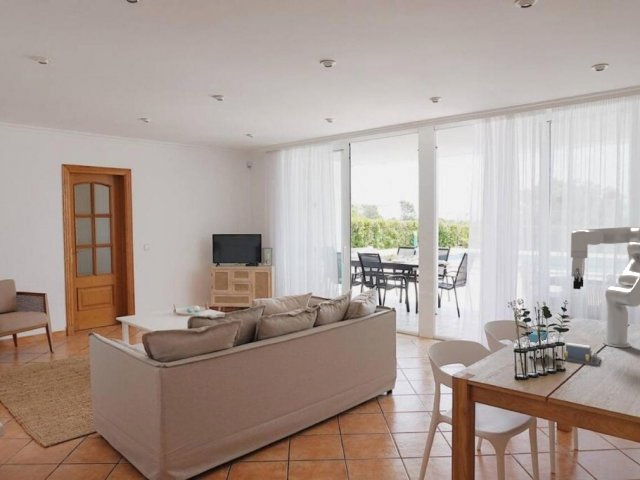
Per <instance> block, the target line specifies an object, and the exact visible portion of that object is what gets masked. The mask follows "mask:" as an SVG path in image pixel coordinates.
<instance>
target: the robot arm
mask: <svg viewBox="0 0 640 480" xmlns="http://www.w3.org/2000/svg"><path fill="white" fill-rule="evenodd" d="M570 235H571V237H570V258H572V259H571V260H572V261H571V274H570V275H571V276H570V277H572V278H573V282H572V284H573V285H572V287H573V290H581V289H582V288H581V287H584V276H585V271H586V270H585V269H586V268H585V265H586V262H585V261H586V259H588V247H589V245H591V246H598V245H600V244H604V245H615V244H627V247H626V251H627V254H628V263H627V265H626V266H625V268H624V269H623V271H621V274H620V275H619V277H618V280H617V283H618V285H619V286H618V285H611V286H609V287H608V288H607V289H606V290H605V301H606V335H605V337H606V338H605V339H603V340H602V344H604V345H606V346H609V347H613V348H623V349H624V348H630V347H631V343H630V342H628V328H629V327H628V322H629V312H628V311H629V310H628V309H627V307H632V308H636V307H639V306H640V226H622V227H621V226H620V227H618V226H617V227H605V228H591V229H590V228H589V229H587V228H586V229H578V230H573V231H572V232H571V234H570Z"/></svg>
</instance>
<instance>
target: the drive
mask: <svg viewBox="0 0 640 480" xmlns="http://www.w3.org/2000/svg"><path fill="white" fill-rule="evenodd" d="M591 348H592V347H591V345H590V344H589V345H587V344H580V343H573V342H566V344H565V351H567V352H568V357H573V358H579V359H585V356H586V354H588V355H589V360H590V355H591V351H592V350H591Z"/></svg>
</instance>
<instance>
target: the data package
mask: <svg viewBox="0 0 640 480" xmlns="http://www.w3.org/2000/svg"><path fill="white" fill-rule="evenodd" d="M532 332H533V333H531V332H530V333H531V334H530V335H529V334H528V336H529V340H530V342H535V343H537V342H538V335H537V332H536V330H534V331H532ZM546 338H547V339H548V337H547V334H546V333H545V332H541V340H542V341H543V340H546ZM538 353H539V351H537V354H538Z"/></svg>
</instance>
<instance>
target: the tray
mask: <svg viewBox="0 0 640 480" xmlns="http://www.w3.org/2000/svg"><path fill="white" fill-rule="evenodd" d="M592 352H593V351H592V350H591V355H590V360H589V355H588V354H586V356H585V359H579V358H573V357H568V352H567V351H566V350H564V357H565V361H566V362H571V363H576V362H578V364H582V363H583V365H591V366H596V367H598V366H599V365H600V362H601V359H602V357H601V356H598V353H597V352H594V353H592Z"/></svg>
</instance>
